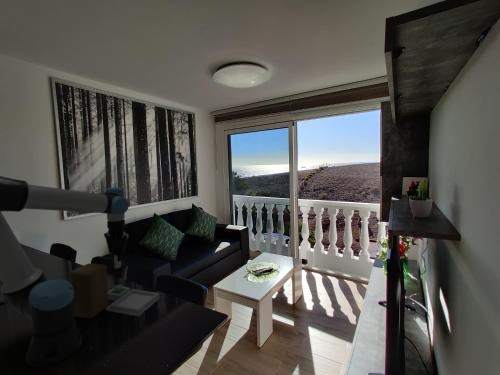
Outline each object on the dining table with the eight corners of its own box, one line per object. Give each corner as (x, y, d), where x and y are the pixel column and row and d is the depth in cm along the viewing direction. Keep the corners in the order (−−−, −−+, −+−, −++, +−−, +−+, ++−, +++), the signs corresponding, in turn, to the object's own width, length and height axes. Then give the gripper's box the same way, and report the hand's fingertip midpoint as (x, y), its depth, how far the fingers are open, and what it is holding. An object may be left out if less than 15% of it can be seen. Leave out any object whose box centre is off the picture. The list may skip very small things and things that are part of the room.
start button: (118, 295, 121) (118, 289, 120) (111, 294, 122) (111, 288, 121) (124, 291, 125) (124, 285, 124) (117, 290, 126) (117, 284, 125)
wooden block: (91, 320, 104) (89, 273, 103) (71, 316, 106) (68, 271, 105) (109, 307, 114) (107, 264, 112) (90, 304, 116) (88, 262, 114)
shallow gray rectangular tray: (138, 316, 107) (138, 310, 107) (105, 310, 111) (105, 304, 111) (159, 298, 122) (159, 293, 122) (129, 293, 126) (129, 288, 126)
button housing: (119, 301, 118) (119, 295, 118) (105, 299, 120) (104, 293, 120) (131, 293, 126) (130, 287, 126) (117, 291, 128) (117, 285, 128)
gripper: (133, 218, 122) (134, 265, 124) (110, 217, 125) (112, 262, 127) (121, 222, 115) (123, 271, 117) (98, 220, 118) (100, 268, 120)
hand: (117, 267), depth 122 cm, fingers closed
